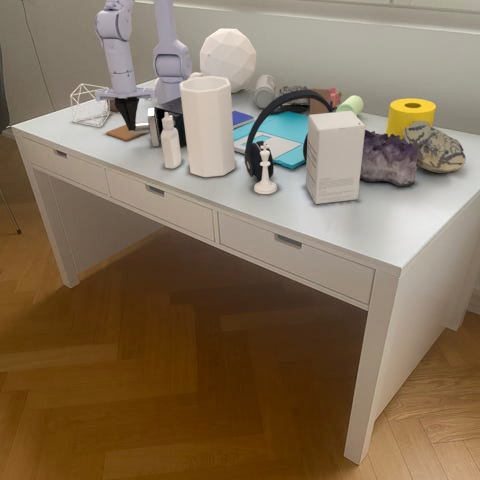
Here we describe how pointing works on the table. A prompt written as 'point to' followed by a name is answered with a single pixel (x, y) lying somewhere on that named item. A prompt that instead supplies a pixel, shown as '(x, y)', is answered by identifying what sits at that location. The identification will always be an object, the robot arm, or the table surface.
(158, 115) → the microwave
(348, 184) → the rectangular carton
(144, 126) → the grey hollow rectangular piece
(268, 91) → the energy drink can
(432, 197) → the table surface
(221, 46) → the sphere
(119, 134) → the mat
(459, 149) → the decorative bowl
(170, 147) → the eye dropper bottle
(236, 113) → the hard drive
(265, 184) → the chess piece
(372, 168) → the geode
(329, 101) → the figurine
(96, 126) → the geometric polyhedron
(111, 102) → the block
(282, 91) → the rock
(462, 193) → the table surface
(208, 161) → the cup
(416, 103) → the yellow hollow cylinder
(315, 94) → the earphone
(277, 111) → the micrometer
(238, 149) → the diskette
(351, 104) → the candle
